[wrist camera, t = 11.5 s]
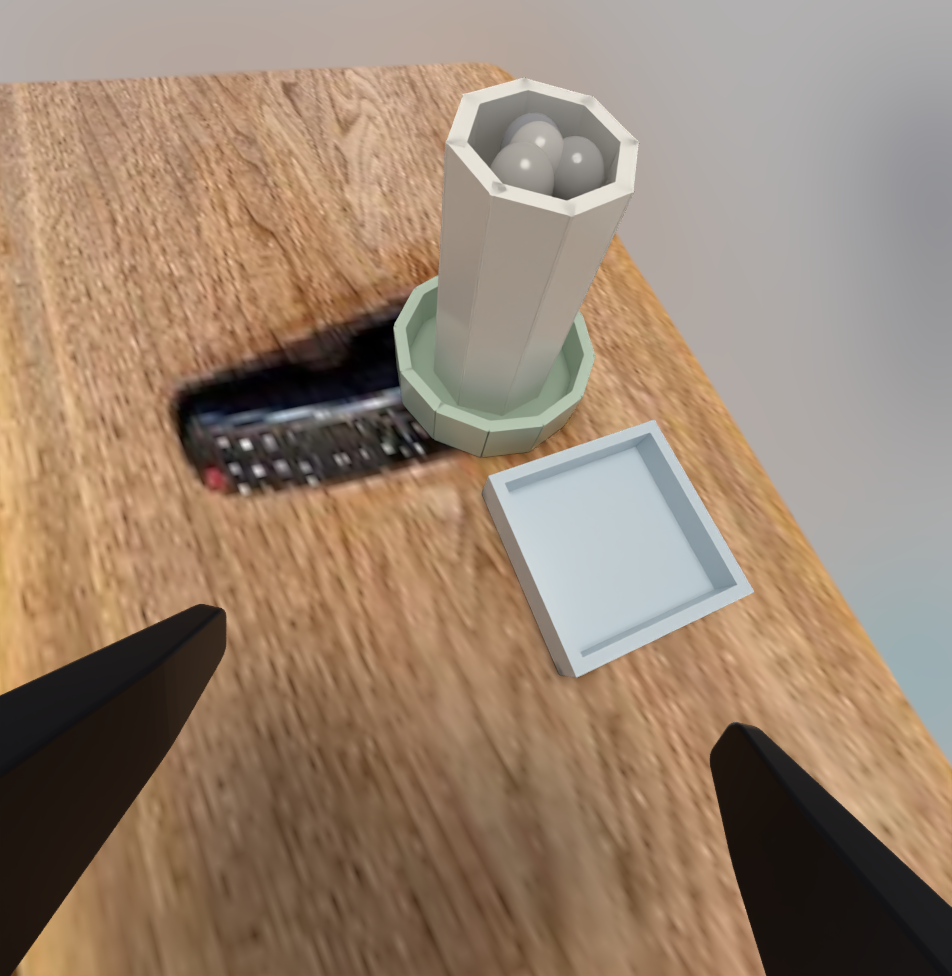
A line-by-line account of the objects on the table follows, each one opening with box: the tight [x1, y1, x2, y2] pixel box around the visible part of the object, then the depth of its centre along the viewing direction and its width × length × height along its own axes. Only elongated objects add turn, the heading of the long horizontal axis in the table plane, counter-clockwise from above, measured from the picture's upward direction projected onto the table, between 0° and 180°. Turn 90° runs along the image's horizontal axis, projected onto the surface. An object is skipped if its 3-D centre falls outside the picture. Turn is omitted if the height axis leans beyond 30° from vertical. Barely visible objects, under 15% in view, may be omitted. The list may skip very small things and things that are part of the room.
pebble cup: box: [434, 78, 640, 416], centre depth 20 cm, size 6×6×12 cm
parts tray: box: [482, 420, 754, 678], centre depth 22 cm, size 10×10×2 cm
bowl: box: [394, 276, 595, 457], centre depth 25 cm, size 10×10×3 cm
